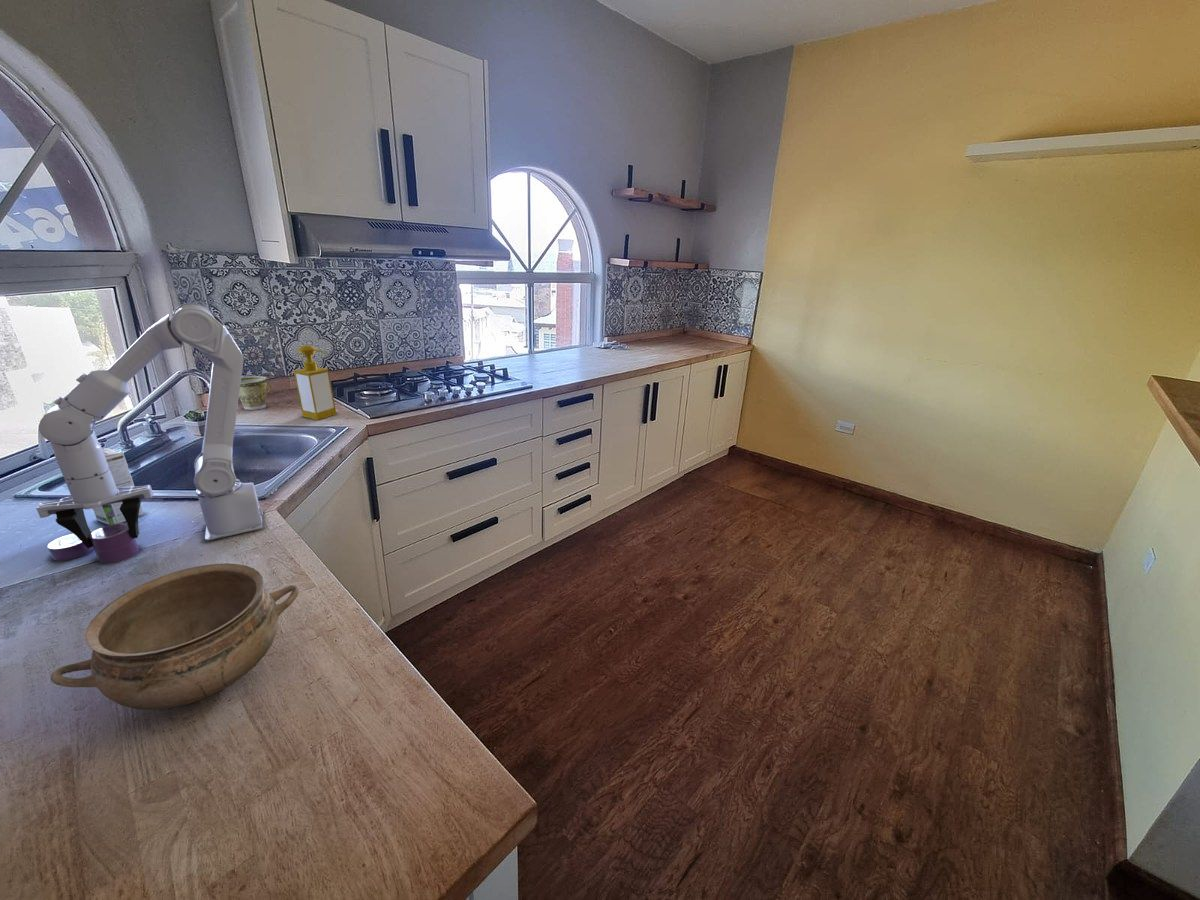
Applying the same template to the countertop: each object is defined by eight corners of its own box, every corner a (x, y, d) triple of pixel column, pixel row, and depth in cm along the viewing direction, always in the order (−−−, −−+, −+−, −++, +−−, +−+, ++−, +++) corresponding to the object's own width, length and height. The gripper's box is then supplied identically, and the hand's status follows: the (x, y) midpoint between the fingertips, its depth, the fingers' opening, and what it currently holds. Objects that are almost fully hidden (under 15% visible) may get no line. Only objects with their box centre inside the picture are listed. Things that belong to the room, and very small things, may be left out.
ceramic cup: (230, 410, 171) (223, 381, 168) (254, 402, 180) (247, 375, 177) (264, 413, 169) (257, 384, 166) (286, 405, 179) (280, 377, 175)
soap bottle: (328, 422, 163) (315, 350, 154) (302, 416, 168) (288, 346, 159) (347, 416, 169) (335, 346, 160) (322, 410, 174) (309, 342, 165)
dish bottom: (141, 543, 96) (136, 531, 95) (136, 557, 92) (132, 545, 91) (101, 551, 93) (97, 539, 92) (95, 566, 89) (90, 554, 88)
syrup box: (95, 521, 103) (70, 456, 98) (129, 508, 108) (107, 446, 103) (112, 527, 101) (87, 461, 96) (146, 514, 106) (124, 451, 101)
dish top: (97, 540, 96) (93, 529, 95) (91, 555, 92) (86, 543, 91) (57, 549, 94) (52, 537, 93) (48, 564, 89) (42, 552, 88)
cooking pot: (293, 602, 82) (277, 538, 77) (328, 671, 69) (311, 599, 64) (80, 682, 66) (44, 608, 61) (74, 791, 53) (28, 707, 49)
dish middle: (137, 531, 95) (133, 520, 94) (132, 545, 91) (127, 533, 90) (97, 539, 92) (92, 528, 91) (90, 554, 88) (85, 542, 87)
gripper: (19, 491, 80) (51, 563, 85) (138, 472, 87) (161, 539, 92) (33, 475, 85) (62, 543, 90) (144, 459, 93) (166, 522, 98)
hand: (113, 540), depth 91 cm, fingers closed on dish middle, 5 cm apart
